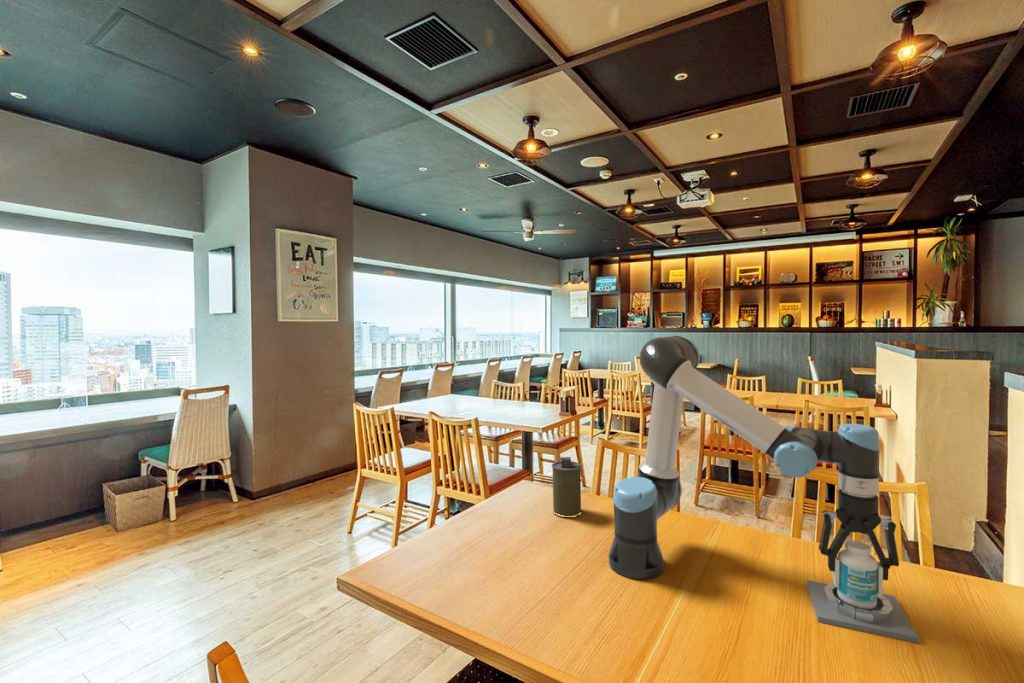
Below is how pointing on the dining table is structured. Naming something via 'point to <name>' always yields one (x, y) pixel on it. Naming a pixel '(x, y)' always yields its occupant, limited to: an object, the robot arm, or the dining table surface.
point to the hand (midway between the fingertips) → (856, 588)
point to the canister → (566, 487)
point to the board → (894, 628)
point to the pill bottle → (857, 575)
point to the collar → (856, 613)
